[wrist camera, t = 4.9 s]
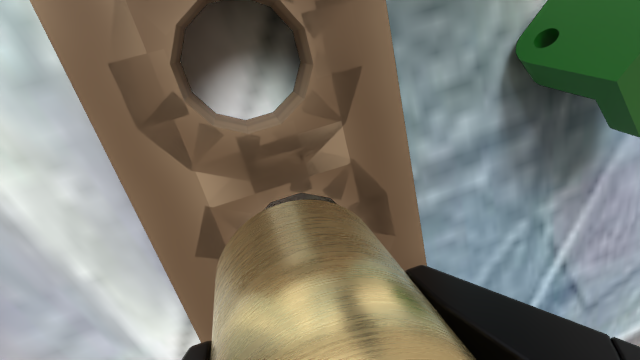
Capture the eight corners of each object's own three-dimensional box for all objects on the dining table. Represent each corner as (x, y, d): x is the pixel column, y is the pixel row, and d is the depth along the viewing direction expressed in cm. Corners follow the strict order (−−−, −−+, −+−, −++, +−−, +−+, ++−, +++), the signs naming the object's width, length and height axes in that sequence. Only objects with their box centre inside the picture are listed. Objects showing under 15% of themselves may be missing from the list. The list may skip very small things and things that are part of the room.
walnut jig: (344, -85, 16) (368, -113, 13) (404, 251, 22) (429, 280, 20) (54, -19, 14) (12, -34, 11) (212, 319, 21) (210, 360, 18)
